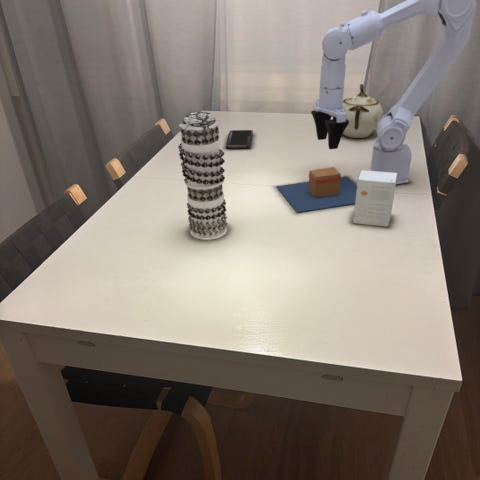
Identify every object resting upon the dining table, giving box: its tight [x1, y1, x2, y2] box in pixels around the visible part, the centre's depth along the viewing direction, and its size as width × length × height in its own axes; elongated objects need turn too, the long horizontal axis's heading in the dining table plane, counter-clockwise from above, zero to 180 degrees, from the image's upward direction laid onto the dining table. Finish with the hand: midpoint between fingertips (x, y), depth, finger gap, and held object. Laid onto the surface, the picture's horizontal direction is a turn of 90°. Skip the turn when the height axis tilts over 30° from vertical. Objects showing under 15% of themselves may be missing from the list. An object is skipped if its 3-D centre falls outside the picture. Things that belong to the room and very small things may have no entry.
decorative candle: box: [177, 111, 228, 241], centre depth 100 cm, size 9×9×25 cm
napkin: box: [276, 175, 357, 214], centre depth 120 cm, size 20×16×1 cm
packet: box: [308, 166, 342, 198], centre depth 119 cm, size 7×5×6 cm
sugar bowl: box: [342, 83, 384, 139], centre depth 151 cm, size 20×15×15 cm
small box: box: [352, 169, 397, 228], centre depth 105 cm, size 8×6×10 cm
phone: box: [225, 129, 254, 150], centre depth 154 cm, size 8×1×15 cm
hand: (327, 143), depth 122 cm, fingers open, 7 cm apart
